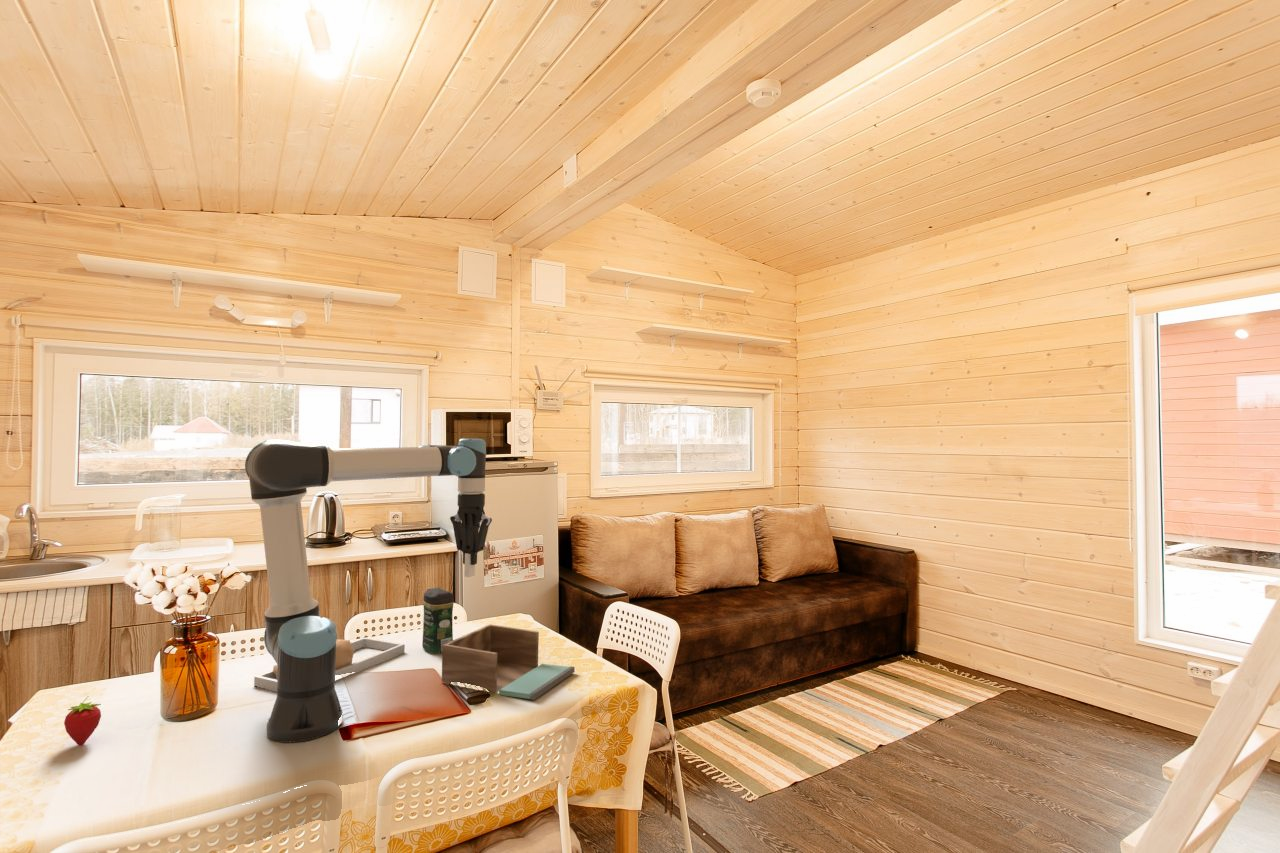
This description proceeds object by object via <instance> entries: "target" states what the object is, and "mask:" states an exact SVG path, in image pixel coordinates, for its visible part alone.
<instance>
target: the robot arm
mask: <svg viewBox="0 0 1280 853" xmlns="http://www.w3.org/2000/svg"><path fill="white" fill-rule="evenodd" d="M486 457H487V446H486V441H485V440H484V439H482V438H459V440H458V444H457V445H446V444H445V445H442V444H438V445H437V444H435V445H433V444H432V445H431V444H428V445H419V446H413V447H412V446H410V447H407V446H406V447H405V446H404V447H403V446H401V447H398V446H397V447H363V448H362V447H360V448H359V447H357V448H355V447H351V448H330V447H329V446H328V444H309V443H303V442H302V443H301V442H296V441H290V440H284V439H269V440H268V439H267V440H264V441H262V442H260V443H258V444H256V445H255V446H253V447H252V448H251V449H250V451H249V452H248V454H247V456H246V458H245V462H244V470H245V473H246V476H247V477H248V480H249V488H250V496H251V501H252V502H254V503H255V504H256V505H258V506H259V509H260V517H261V518H260V519H261V528H262V535H263V536H262V537H263V546H264V553H265V554H264V556H265V563H266V564H265V565H266V572H267V574H266V575H267V582H268V589H269V590H268V592H269V599H270V604H269V606H268V607H267V609H265V611H264V613H263V614H264V622H265V629H264V630H265V631H264V635H263V639H264V645H265V648H266V650H267V652H268V653H269V655H270V656H272V658H273V659H274V661H275V663H276V665H277V666H278V673H277V692H276V698H275V701H274V704H273V707H272V710H271V714H270V717H269V718H268V720H267V724H266V736H267V737H268V739H270V740H272V741H275V742H280V743H297V742H306V741H310V740H315V739H317V738H321V737H324V736H327V735H329V734H330V733H331V734H332V732H334V731H336V730H337V729H339V727H338V720H339V718H340V717H341V715H342V713H343V709H342V707H341V704H340V703H341V702H340V700H339V697H338V694H337V692H336V681H335V663H336V641H337V639H338V632H337V626H336V624H335V622H334V620H332V619H330V618H328V617H324V616H323V617H322V616H321V612H320V606H319V605H320V604H319V600H317V599H315V598H314V597H312V594H311V585H310V577H309V567H308V565H309V564H308V559H307V558H308V556H307V548H306V547H307V546H306V539H305V530H304V529H305V528H304V521H303V511H302V503H301V501H302V499H303V498H304V497H305V496H306V494H307V493H308V490H307V489H309V488H316V487H327V486H328V485H329V484H330V483H332V482H347V481H365V480H382V479H383V480H385V479H402V478H422V477H443V476H446V477H448V476H456V477H457V492H459V493H458V494H457V507H458V509H457V513H456V514H454V515H452V516H450V517H449V520H450V521H451V524H452V527H453V528H452V529H453V532H454V539H455V543H456V544H455V545H456V550H458V551H461V552H462V564H463V565H464V577H465V578H466V577H467V578H470V577H475V574H476V565H477V564H478V553H479V552H482V551H484V549H485V544H486V541H487V540H486V539H487V535H488V531H489V527H490V525H491V523H492V522H493V519H492V517H488V516H486V513H485V509H484V507H485V505H486V500H485V499H486V495H485V493H483V492H485V491H486V461H487V460H486V459H487V458H486ZM342 716H343V715H342Z"/></svg>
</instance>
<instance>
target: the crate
mask: <svg viewBox="0 0 1280 853" xmlns="http://www.w3.org/2000/svg"><path fill="white" fill-rule="evenodd" d="M539 636H540V632H539V631H538V630H530V629H522V628H515V627H510V626H509V627H508V626H503V625H496V624H487V625H486V626H483V627H481V628H478V629H476V630H474V631H472V632H469V633H467V634H465V635H462V636H460V637H458V638H455V639H453V641H451V642H448V643H446V644H444V645H443V646H442V653H441V658H442V659H441V683H442V682H444V683H445V684H444V685H448V686H450V685H449V684H450V683H451V682H460V683H467V684H471V685H476V686H480V687H483V688H486V689H487V690H488V691H489V693H488V694H492V695H495V694H496V693H499V690H500V689H502V688H503V687H505V686H507V685H508V684H510V683H511V682H513V681H515V680H516V679H518V678H520V677H521V676H523V675H525V674H526V673H528V672H530V671H531V670H533V669H535V668H536V667H538V666H539V638H540V637H539Z"/></svg>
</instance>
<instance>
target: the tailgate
mask: <svg viewBox="0 0 1280 853" xmlns="http://www.w3.org/2000/svg"><path fill="white" fill-rule="evenodd" d="M575 670H576V669H575V666H566V665H557V664H549V663H548V664H547V663H542V664H539V665H538V667H536V668H535V669H533V670H531V671H530V672H528V673H526V674H525V675H523V676H521V677H520V678H518V679H516V680H515V681H513V682H511V683H510V684H508V685H507V686H505V687H503V688H502V689H500V690H499V691H498V696H505V697H512V698H519V699H527V700H530V701H531V700H532V701H533V700H536V699H538V698H539V697H541V696H542V695H543V694H545V693H546V692H548V691H549V690H551V689H552V688H554V687H555V686H556V685H558V684H559V683H561V682H562V681H564V680H565V679H566V678H568V677H569V676H571V675H572V674H574V673H575Z"/></svg>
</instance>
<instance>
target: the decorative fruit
mask: <svg viewBox="0 0 1280 853" xmlns="http://www.w3.org/2000/svg"><path fill="white" fill-rule="evenodd" d="M88 697H89V695H88V696H87V697H86V698H85V699H84V700H83V702H80V704H78V705H75V706H70V708H69V709H67V710H68V711H70V712H68V714H67V715H65V719H64V721H63V724H64V729H65V731H66V733H67V734H68V736H69V737H70V738H71V739H72V741H74V742H75V743H76V744H77V745H78V746H83V745H84V744H86V742H87V740H88V739H89V738H90V737H91V736H92V735H93V733H94V732H95V730H96V729H97V728H98V726H99V723H100V721H101V719H102V718H101V717H102V714H101V709H100V708H99V707H97V706H101V705H102V704H101V703H92V701H90V702H86V703H84V702H85V701H86V700H87V699H88Z"/></svg>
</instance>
